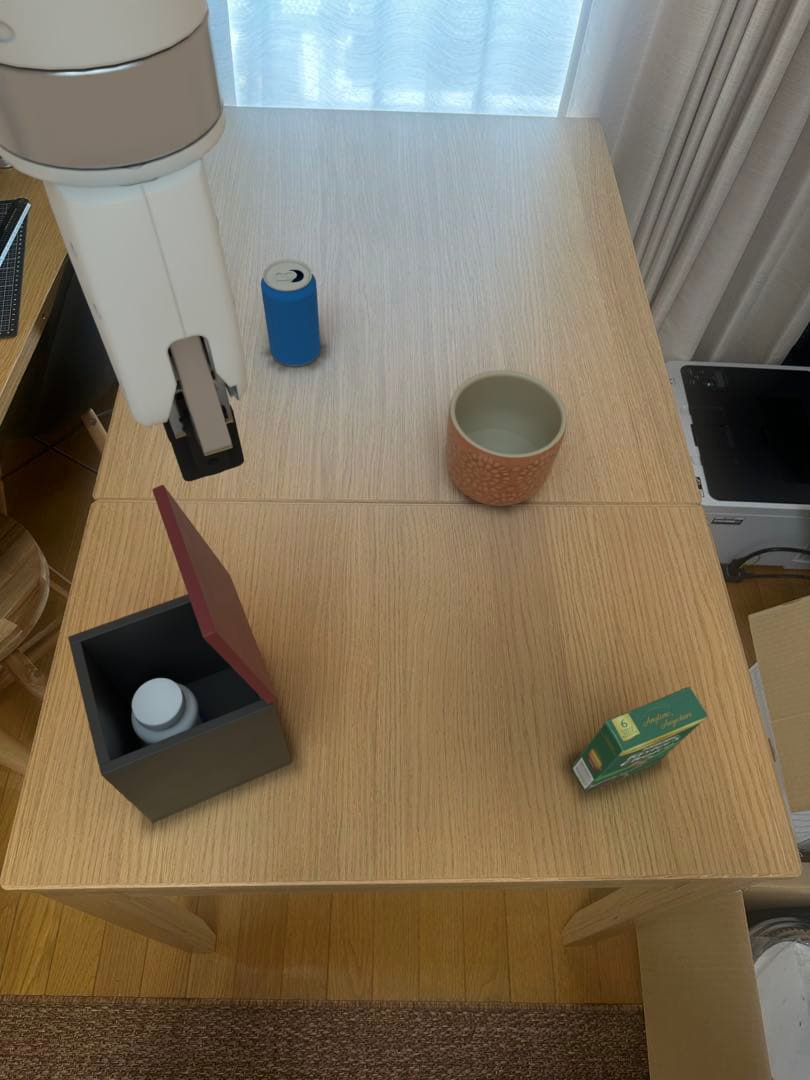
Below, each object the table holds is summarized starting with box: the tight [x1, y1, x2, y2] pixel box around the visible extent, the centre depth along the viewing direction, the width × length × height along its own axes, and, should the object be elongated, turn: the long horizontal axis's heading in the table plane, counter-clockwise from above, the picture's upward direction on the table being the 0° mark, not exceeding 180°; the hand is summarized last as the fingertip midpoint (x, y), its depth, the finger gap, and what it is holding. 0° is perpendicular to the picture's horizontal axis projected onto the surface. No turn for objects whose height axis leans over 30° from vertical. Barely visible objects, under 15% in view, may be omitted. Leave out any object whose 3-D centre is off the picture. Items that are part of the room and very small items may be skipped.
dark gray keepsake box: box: [68, 593, 292, 824], centre depth 62 cm, size 13×12×15 cm
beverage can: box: [260, 258, 322, 367], centre depth 91 cm, size 6×6×12 cm
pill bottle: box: [131, 678, 208, 746], centre depth 63 cm, size 5×5×10 cm
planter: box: [444, 369, 568, 507], centre depth 81 cm, size 12×12×11 cm
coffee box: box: [570, 686, 708, 794], centre depth 62 cm, size 8×3×13 cm, turn 111°
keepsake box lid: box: [152, 484, 279, 704], centre depth 51 cm, size 14×12×1 cm
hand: (205, 449), depth 39 cm, fingers closed
